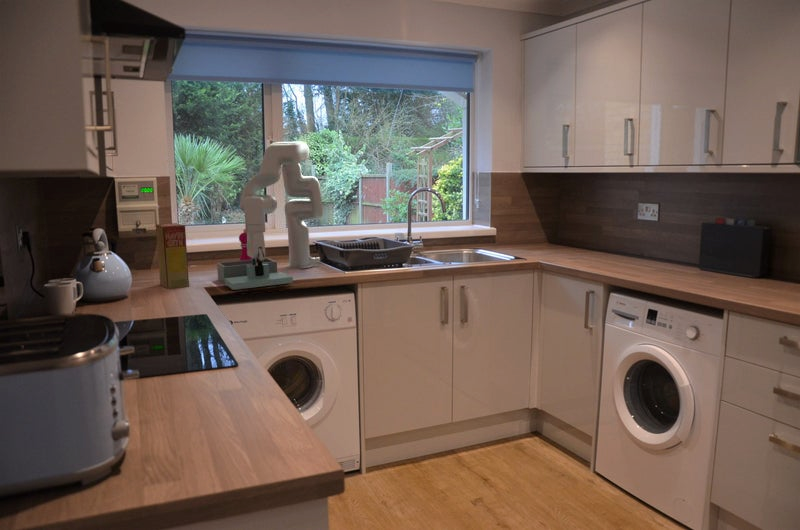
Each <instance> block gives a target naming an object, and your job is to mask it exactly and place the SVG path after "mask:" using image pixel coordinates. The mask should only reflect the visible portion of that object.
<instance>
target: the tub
mask: <svg viewBox="0 0 800 530" xmlns="http://www.w3.org/2000/svg"><path fill="white" fill-rule="evenodd" d="M263 264H269V273H276V272H278V261H276V260H274V259H272V258H269V257H267V258H265V257H264V258H263ZM247 265H254V264H252V260H243V261H240V260H234V261H224V262H222V261H221V262H216V269H217V271H216V272H217V280H218V281H219V282H220V283H222V284H224V285H226V284H225V281H224V278H231V277H240V276H247Z"/></svg>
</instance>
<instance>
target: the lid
mask: <svg viewBox="0 0 800 530" xmlns="http://www.w3.org/2000/svg"><path fill="white" fill-rule="evenodd" d="M255 266H256V265H247V276H240V277H231V278H224V281H225V284H224V285H225V286H227V287H228V288H230V290H233V291H235V290H242V289H243V290H244V289H251V288H258V287H261V288H262V287H266V286H268V287H269V286H276V285H286V284H293V283H294V281H293V280H294V279H293V278H294V277H293V276H291V275H290V274H287V273H285V272H283V271H277V272H276V273H269V264H263V269H264V275H263V276H256V275H255Z"/></svg>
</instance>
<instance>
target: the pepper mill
mask: <svg viewBox="0 0 800 530" xmlns="http://www.w3.org/2000/svg"><path fill="white" fill-rule="evenodd" d="M238 241H239V242H240V248H241V255H240V258H239V261H243V260H252V258H251V257H249V256H248V255H247V233H246V228H244V229H243V232H241V233H240V234H239V236H238Z"/></svg>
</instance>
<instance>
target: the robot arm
mask: <svg viewBox="0 0 800 530" xmlns="http://www.w3.org/2000/svg"><path fill="white" fill-rule="evenodd" d="M309 156H310V148H309V146H308V144H307V143H306V142H305V141H276V142H272V143H271V144H270V145H268V146H267V147H266V149H265V151H264V154H263V158H262V162H261V164H260V168H259V172H258V173H257V174H255V175H254V176H253V177H252V178H250V179H249V181H247V183H246V184H245V185H244V186H243V190H242V193H241V196H240V200H239V208H240V210H241V212H242V213H244V227H245V228H244V229H246V233H247V255H248V256H249V257H251V258H252V264H254V265H256V266H255V275H256V276H263V275H264V269H263V259H264V258H265V257H266V247H265V246H266V243H265V235H264V233H266V221H265V218H266V217H265V215H266V214H268V215H269V214H273V213H274V212H275V211H276V210H277V208H278V201H277V199H276V198H275V197H274V196H273V195H271V194H257V192H259V191H261V190H263V189H265V188H268V187H269V186H272V185H274V184H277V183H278V182H279V180H280V178H281V175H282V179H283V180H282V181H283V188H284V192H285V195H286V196H287V197H289V198H294V199H290V200H288V201H286V202H285V204H284V214H285V218H286V219H285V220H286V227H287V238H288V256H289V257H288V259H289V263H288V264H286V268H296V269H298V270H302V269H303V270H305V269H309V268H313V267H314V262H315V263H316V262H317V263H318V262H320V261H321V257H320V256H319V257H318V256H317V257H312V256H311V255H310V252H311V251H310V236H309V235H310V231H309V227H308V225H307V224H306V223H305V221H312V220H313V221H315V220H316V221H317V220H320V219H322V217H323V215H324V214H323V213H324V207H323V201H322V200H323V199H322V192H321V186H320V181H319V180H318V178H317V177H315V176H312V175H303V174H302V166H301V163H303V162H306V161H307V160H308V158H309Z"/></svg>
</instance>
